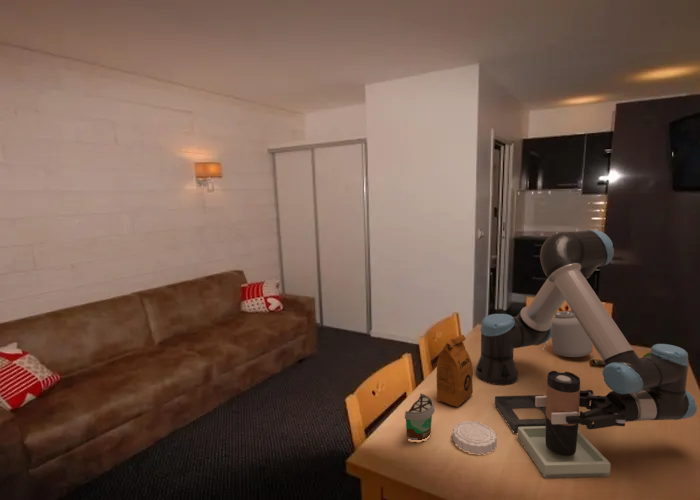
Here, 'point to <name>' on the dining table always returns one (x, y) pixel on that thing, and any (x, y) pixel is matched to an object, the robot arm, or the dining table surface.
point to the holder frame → (511, 402)
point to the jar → (569, 336)
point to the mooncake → (474, 437)
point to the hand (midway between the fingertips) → (543, 409)
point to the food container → (419, 418)
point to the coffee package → (454, 373)
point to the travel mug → (562, 399)
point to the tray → (558, 466)
